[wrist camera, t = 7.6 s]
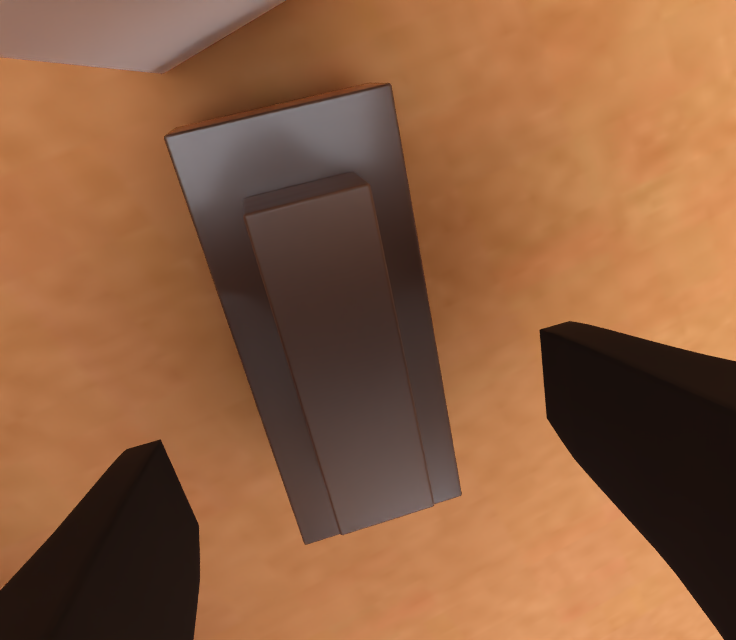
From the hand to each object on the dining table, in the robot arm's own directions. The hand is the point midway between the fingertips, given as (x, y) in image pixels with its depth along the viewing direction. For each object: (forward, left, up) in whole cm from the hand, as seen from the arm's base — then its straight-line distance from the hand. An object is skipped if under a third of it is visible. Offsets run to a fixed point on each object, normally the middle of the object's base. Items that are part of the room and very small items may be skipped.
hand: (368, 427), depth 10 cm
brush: (0, 0, -7) cm, 7 cm away
